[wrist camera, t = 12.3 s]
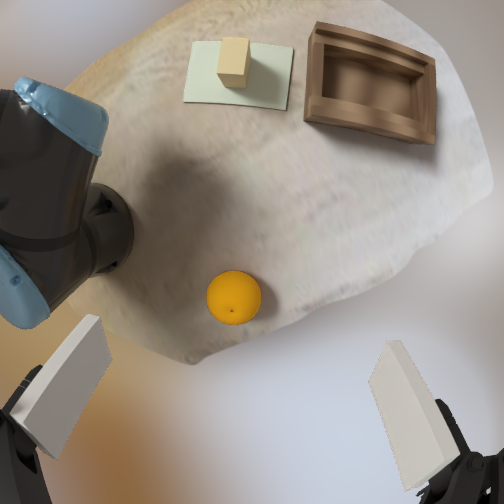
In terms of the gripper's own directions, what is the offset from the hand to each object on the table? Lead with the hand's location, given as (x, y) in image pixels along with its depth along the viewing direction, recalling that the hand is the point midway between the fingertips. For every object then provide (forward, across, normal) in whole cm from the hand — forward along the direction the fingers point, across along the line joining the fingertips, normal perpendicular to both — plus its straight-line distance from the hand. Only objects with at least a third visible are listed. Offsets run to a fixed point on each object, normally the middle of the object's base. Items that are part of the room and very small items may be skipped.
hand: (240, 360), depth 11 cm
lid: (+29, -4, +20) cm, 35 cm away
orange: (+29, -2, -12) cm, 31 cm away
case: (+29, +14, +20) cm, 38 cm away
